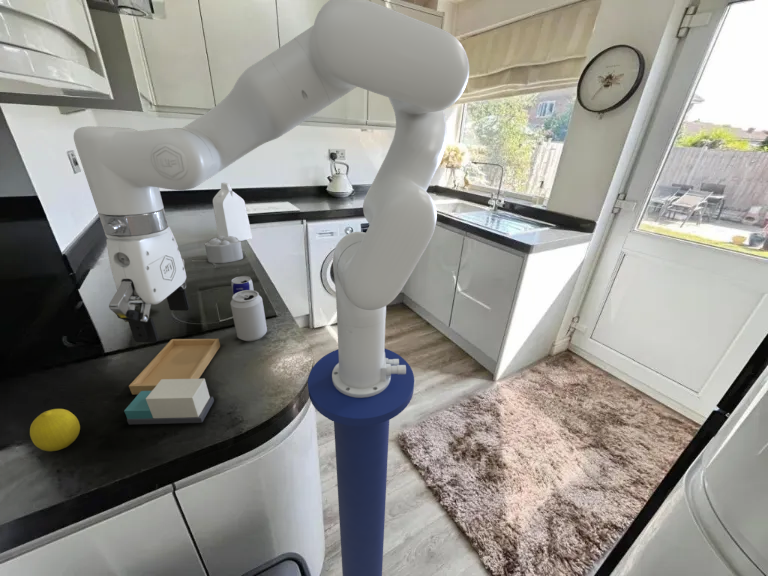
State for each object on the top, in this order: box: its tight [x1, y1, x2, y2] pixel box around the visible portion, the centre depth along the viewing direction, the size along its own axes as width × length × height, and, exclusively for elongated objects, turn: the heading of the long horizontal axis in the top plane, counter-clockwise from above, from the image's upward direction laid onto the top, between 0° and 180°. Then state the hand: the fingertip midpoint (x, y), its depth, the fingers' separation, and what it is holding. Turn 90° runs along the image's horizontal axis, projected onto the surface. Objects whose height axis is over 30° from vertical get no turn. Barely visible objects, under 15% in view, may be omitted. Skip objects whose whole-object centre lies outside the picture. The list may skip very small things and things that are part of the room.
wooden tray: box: [128, 338, 221, 395], centre depth 73 cm, size 11×16×2 cm
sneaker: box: [123, 378, 215, 426], centre depth 60 cm, size 13×5×6 cm, turn 93°
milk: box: [212, 182, 253, 242], centre depth 154 cm, size 12×12×26 cm
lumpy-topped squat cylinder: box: [204, 235, 244, 264], centre depth 133 cm, size 10×13×9 cm
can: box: [229, 290, 268, 342], centre depth 83 cm, size 8×8×12 cm
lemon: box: [29, 408, 81, 452], centre depth 53 cm, size 6×6×8 cm
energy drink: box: [230, 275, 255, 296], centre depth 91 cm, size 5×5×12 cm
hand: (165, 324), depth 54 cm, fingers open, 9 cm apart
